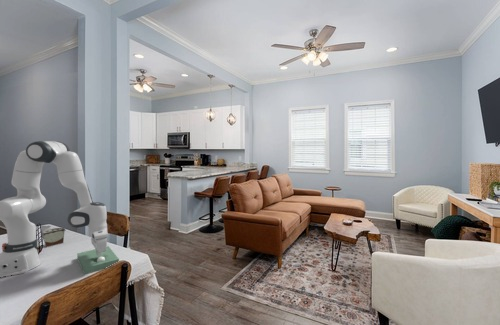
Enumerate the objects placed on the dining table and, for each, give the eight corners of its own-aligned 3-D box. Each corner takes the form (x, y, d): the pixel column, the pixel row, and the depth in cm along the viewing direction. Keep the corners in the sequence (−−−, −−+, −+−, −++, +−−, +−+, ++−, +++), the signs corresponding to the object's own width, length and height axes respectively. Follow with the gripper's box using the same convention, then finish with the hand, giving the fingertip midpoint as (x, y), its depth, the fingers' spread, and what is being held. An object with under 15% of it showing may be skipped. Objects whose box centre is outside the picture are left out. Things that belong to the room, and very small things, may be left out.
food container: (62, 240, 166) (62, 226, 166) (65, 242, 163) (65, 228, 162) (40, 246, 156) (39, 231, 156) (42, 248, 153) (42, 233, 152)
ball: (96, 266, 129) (97, 261, 128) (96, 261, 132) (96, 255, 131) (105, 265, 132) (106, 259, 131) (104, 259, 134) (105, 254, 133)
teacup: (47, 240, 166) (47, 229, 165) (24, 243, 161) (24, 231, 160) (54, 233, 179) (54, 223, 179) (33, 236, 174) (33, 225, 174)
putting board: (84, 274, 121) (84, 268, 121) (77, 258, 138) (77, 253, 138) (118, 264, 132) (118, 259, 132) (108, 250, 149) (108, 246, 149)
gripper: (88, 228, 138) (88, 251, 139) (95, 237, 123) (95, 263, 124) (100, 225, 142) (101, 248, 143) (108, 234, 127) (109, 259, 128)
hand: (98, 255), depth 133 cm, fingers closed
